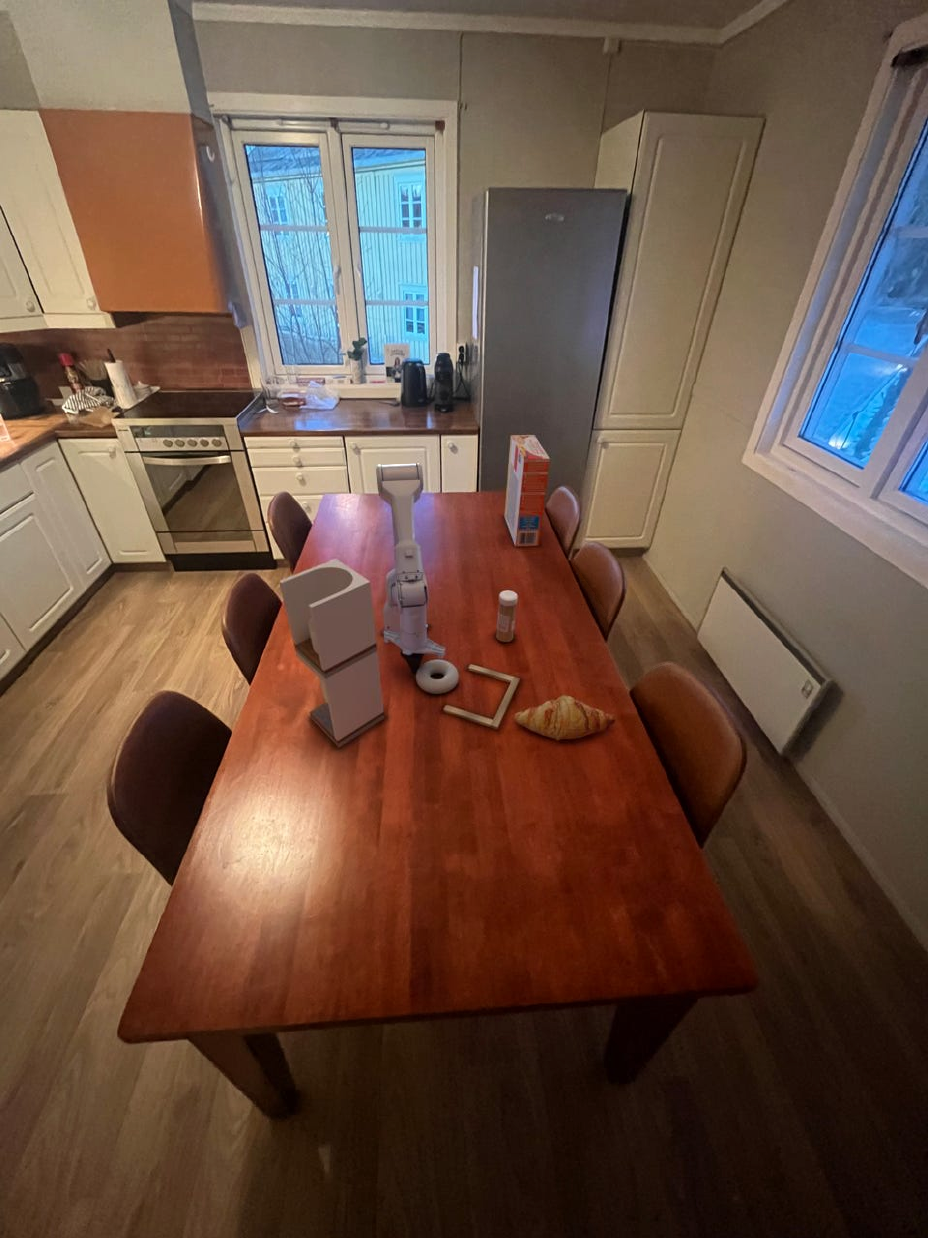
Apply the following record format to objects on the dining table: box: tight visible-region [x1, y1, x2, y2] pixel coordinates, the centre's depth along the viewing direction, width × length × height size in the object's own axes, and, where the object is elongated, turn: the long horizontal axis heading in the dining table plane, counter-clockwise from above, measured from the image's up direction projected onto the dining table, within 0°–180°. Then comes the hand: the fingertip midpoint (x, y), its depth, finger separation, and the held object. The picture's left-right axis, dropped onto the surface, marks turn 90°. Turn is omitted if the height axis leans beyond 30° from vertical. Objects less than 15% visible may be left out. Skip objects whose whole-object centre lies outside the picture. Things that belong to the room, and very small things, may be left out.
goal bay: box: [442, 663, 521, 730], centre depth 114 cm, size 12×16×1 cm
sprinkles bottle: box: [495, 589, 519, 643], centre depth 127 cm, size 5×5×13 cm
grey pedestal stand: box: [278, 558, 385, 748], centre depth 97 cm, size 11×11×35 cm
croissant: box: [514, 694, 616, 742], centre depth 106 cm, size 21×10×8 cm, turn 90°
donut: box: [415, 659, 460, 695], centre depth 116 cm, size 10×4×10 cm
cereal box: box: [503, 434, 551, 547], centre depth 170 cm, size 23×8×30 cm, turn 6°
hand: (415, 671), depth 118 cm, fingers closed
